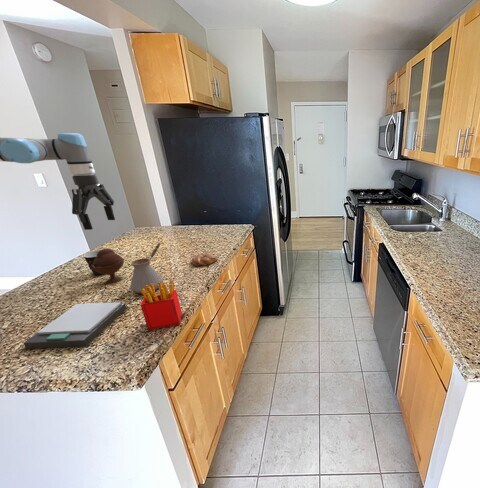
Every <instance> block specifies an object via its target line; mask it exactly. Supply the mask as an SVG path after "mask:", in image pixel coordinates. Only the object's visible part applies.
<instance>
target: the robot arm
mask: <svg viewBox="0 0 480 488" xmlns="http://www.w3.org/2000/svg"><path fill="white" fill-rule="evenodd" d="M56 135H57V138H19V137H18V138H16V137H15V138H14V137H0V162H7V163H17V164H32V163H36V162H42V161H43V162H44V161H57V160H58V161H59V160H60V161H63V160H65V161H66V164H67V167H68V170H69V173H70V174H71V175H72V176H71V178H72V181H73V183H74V185H75V186H77V188H72V189H71V194H72V203H71V205H72V206H71V214H72V215H75V216H78V218H79V221H80V222H81V225H82V227H83V230H85V231H88V230H89V231H91V230H94V228H93V225H92V222H91V220H90V217H89V214H88V213H86V212H87V209H88V205H89V201H90V200H91V199H93V198H96V199H97V200H98V201H99V202H101V203H102V205H103V209H104V212H105V215H106V219H107V221H116V218H115V215H114V210H113V207H112V206H115V205H114V204H115V201H114V199H113V198H112V197H111V195H110V194H109V192H108V191H107V190H106V188H105V185H104V184H103V183H99V179H98V176H97V175H96V174H95V173H96V170H95V167H94V164H93V161H92V158H91V153H90V152H89V146H88V145H87V142H86V139H85V137H84V135H83V134H81V133H65V132H64V133H63V132H62V133H61V132H60V133H57V134H56Z"/></svg>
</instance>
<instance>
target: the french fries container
mask: <svg viewBox="0 0 480 488" xmlns="http://www.w3.org/2000/svg"><path fill="white" fill-rule="evenodd" d="M150 286H151V287H149V286H148V285H146V286H145V288H146V291H145V289H141V292H142V293H143V294H142V296H143V299H142V301H141V303H140V309H141V311H142V314H143V319H144V321H145V324H146V327H147V330H148V331H153V330H158V329H162V328H168V327H172V326H177V325H178V326H179V325H180V324H181V321H182V316H183V313H182V308H181V307H182V306H181V303H180V298H179V295H178V291H177V289H175V285H174V280H170V281H169V284H168V287H167V284H166V283H162V284H161V282H158V291H159V294H156V290H155V288H154V284H150ZM168 291H169V292H168Z"/></svg>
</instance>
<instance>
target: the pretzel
mask: <svg viewBox="0 0 480 488" xmlns="http://www.w3.org/2000/svg"><path fill="white" fill-rule="evenodd" d="M217 260H218V258H217V257H216V256H215V255H214V254H212V253H211V254H210V253H199V254H196V255H194V256H192V258H191V264H193V266H195V267H202V266H209V265H211V264H214V263H216V262H217Z"/></svg>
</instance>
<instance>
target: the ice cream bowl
mask: <svg viewBox="0 0 480 488" xmlns="http://www.w3.org/2000/svg"><path fill="white" fill-rule="evenodd" d="M99 250H100V251H99V252H98V253H97V258H96V259H95V260H94V262H93V264H92V265H91V266H92V268H93V269H94V270H95V271H96V272H98V273H101V274H105V275H109V276H110V278H109V279H108V280H107V281H106V284H107V285H112V284H113V285H114V284H117V283H119V282H121V281H122V277H120V276H116V273H117V272H118V271H120V269H122V267H123V266H124V263H125V259H124V258H123V256H120V255H119V254H118V253H116V252H115V251H114V249H112V248H106V247H105V248H102V249H99Z"/></svg>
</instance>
